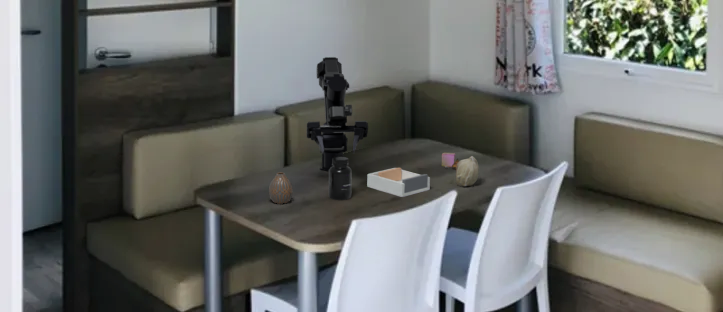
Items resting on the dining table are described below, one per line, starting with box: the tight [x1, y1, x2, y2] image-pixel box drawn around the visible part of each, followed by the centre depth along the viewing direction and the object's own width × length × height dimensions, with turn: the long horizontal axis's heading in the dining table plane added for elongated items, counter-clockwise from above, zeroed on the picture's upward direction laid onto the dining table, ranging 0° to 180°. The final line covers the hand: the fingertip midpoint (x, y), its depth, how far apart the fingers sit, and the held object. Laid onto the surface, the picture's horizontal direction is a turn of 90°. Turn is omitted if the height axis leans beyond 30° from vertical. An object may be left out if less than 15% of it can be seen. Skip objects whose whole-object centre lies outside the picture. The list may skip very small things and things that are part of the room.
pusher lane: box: [366, 167, 431, 198], centre depth 299 cm, size 15×12×5 cm
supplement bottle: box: [328, 156, 353, 201], centre depth 288 cm, size 7×7×12 cm
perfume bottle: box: [441, 152, 460, 171], centre depth 326 cm, size 12×12×4 cm
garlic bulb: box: [455, 155, 480, 187], centre depth 303 cm, size 9×8×10 cm
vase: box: [268, 172, 294, 205], centre depth 283 cm, size 7×7×9 cm
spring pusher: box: [377, 167, 402, 181], centre depth 302 cm, size 3×9×4 cm, turn 133°
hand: (338, 153), depth 293 cm, fingers open, 9 cm apart
